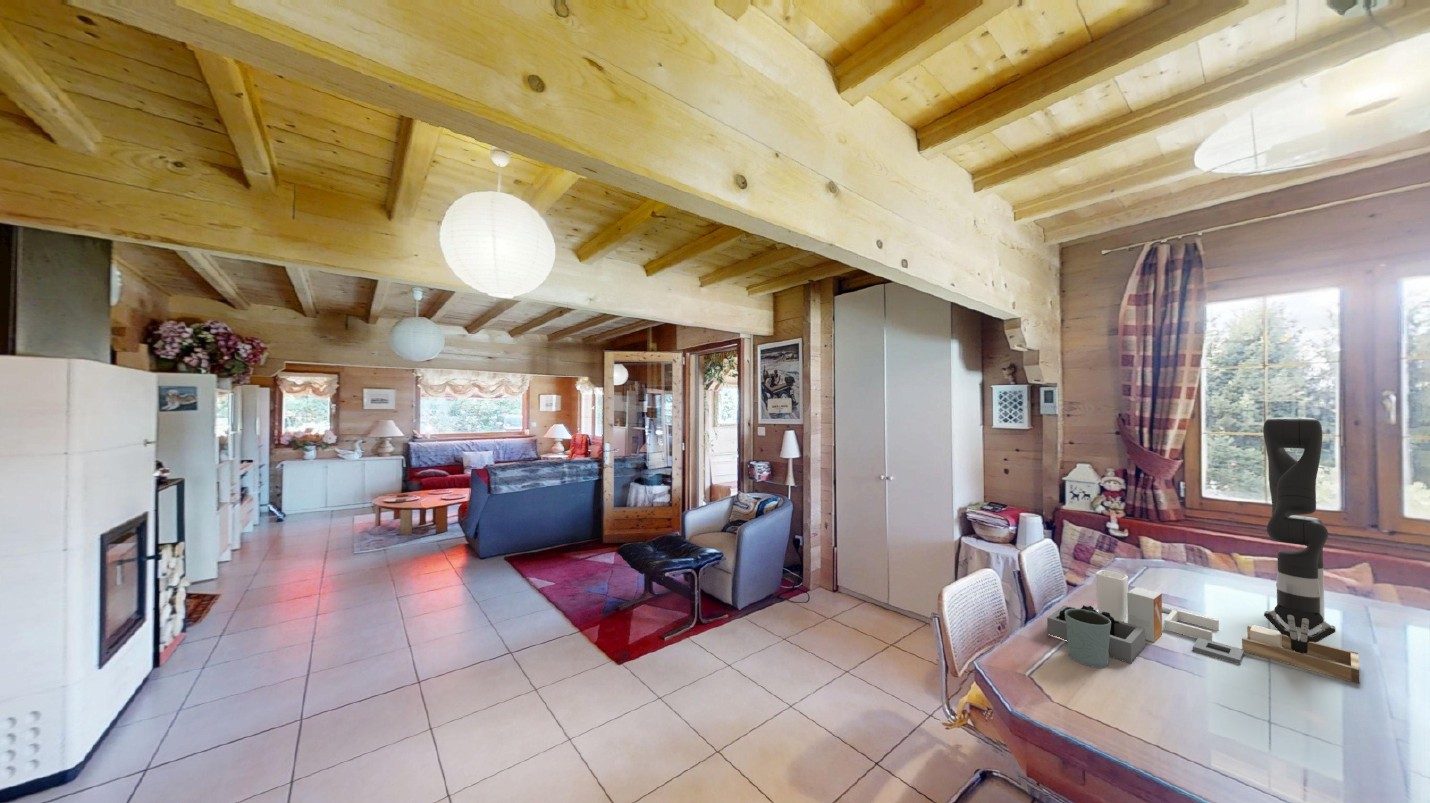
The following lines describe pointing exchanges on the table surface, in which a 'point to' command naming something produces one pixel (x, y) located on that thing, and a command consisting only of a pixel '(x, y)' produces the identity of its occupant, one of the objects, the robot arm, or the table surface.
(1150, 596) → the small box
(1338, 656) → the wooden u-shaped frame
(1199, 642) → the hole frame
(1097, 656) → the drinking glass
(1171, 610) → the crook tool
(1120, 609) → the white rounded prism
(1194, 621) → the cream bay
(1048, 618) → the grey rectangular planter box
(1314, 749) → the table surface
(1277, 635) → the cream cube
